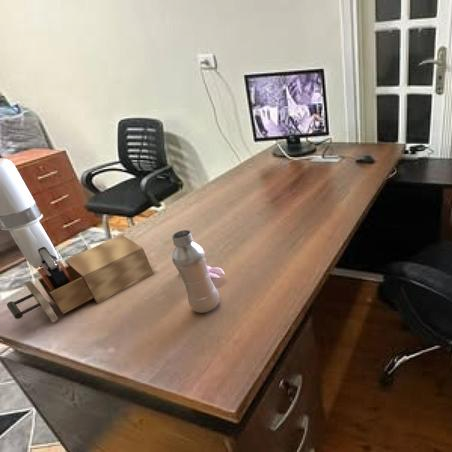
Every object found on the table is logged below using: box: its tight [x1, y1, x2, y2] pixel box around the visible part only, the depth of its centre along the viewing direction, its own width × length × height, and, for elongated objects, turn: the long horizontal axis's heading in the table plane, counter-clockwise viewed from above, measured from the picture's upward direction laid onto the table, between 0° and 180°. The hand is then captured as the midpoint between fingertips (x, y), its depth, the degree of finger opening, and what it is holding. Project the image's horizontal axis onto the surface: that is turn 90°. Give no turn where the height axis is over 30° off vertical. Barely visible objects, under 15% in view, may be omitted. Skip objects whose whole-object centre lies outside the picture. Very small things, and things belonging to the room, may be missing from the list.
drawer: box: [6, 265, 94, 323], centre depth 85 cm, size 18×11×7 cm, turn 141°
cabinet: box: [64, 234, 154, 304], centre depth 93 cm, size 15×13×9 cm
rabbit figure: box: [178, 265, 225, 279], centre depth 91 cm, size 6×6×15 cm
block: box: [36, 260, 72, 290], centre depth 84 cm, size 4×4×4 cm
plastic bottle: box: [171, 229, 220, 314], centre depth 78 cm, size 6×7×20 cm
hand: (58, 281), depth 85 cm, fingers closed on block, 4 cm apart
